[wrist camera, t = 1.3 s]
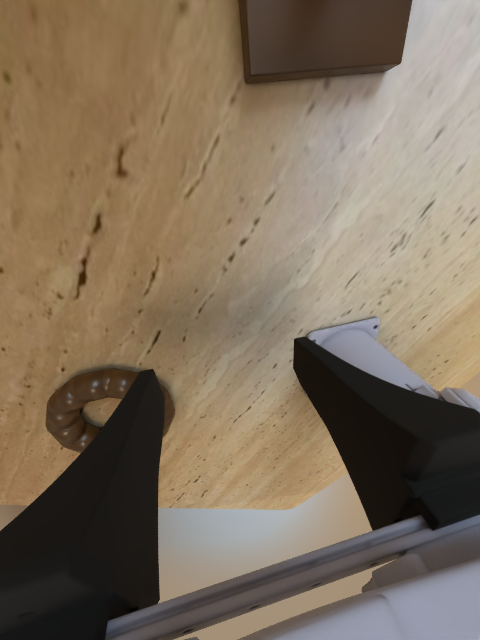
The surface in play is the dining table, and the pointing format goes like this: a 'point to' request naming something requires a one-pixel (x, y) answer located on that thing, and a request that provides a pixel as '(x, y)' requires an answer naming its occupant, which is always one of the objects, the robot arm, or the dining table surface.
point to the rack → (321, 37)
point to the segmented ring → (85, 389)
